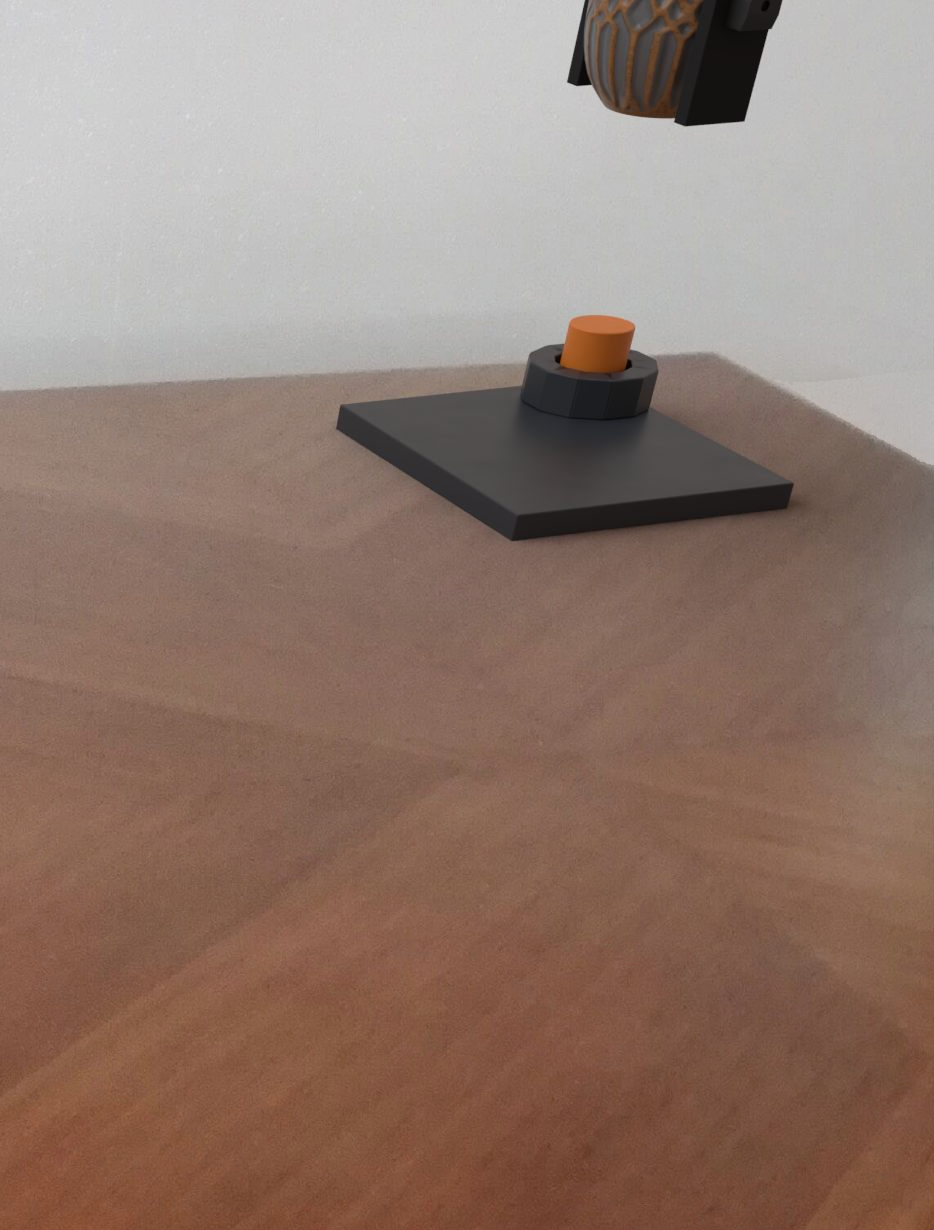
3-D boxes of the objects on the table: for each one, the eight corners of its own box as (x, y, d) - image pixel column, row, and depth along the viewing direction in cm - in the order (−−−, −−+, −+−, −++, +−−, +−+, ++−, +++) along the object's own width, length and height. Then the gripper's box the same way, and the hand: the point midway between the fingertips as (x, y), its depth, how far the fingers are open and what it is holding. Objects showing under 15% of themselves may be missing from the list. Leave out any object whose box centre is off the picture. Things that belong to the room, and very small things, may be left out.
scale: (795, 509, 111) (816, 440, 109) (511, 543, 108) (527, 472, 106) (596, 402, 123) (612, 338, 121) (335, 430, 120) (346, 364, 118)
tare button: (636, 375, 117) (648, 330, 116) (581, 381, 117) (592, 335, 115) (601, 357, 119) (612, 312, 118) (546, 363, 119) (557, 317, 117)
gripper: (1131, -656, 78) (890, 150, 94) (752, -650, 93) (596, 47, 108) (931, -654, 77) (719, 165, 92) (577, -649, 91) (444, 59, 106)
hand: (653, 100), depth 100 cm, fingers closed on vase, 7 cm apart
